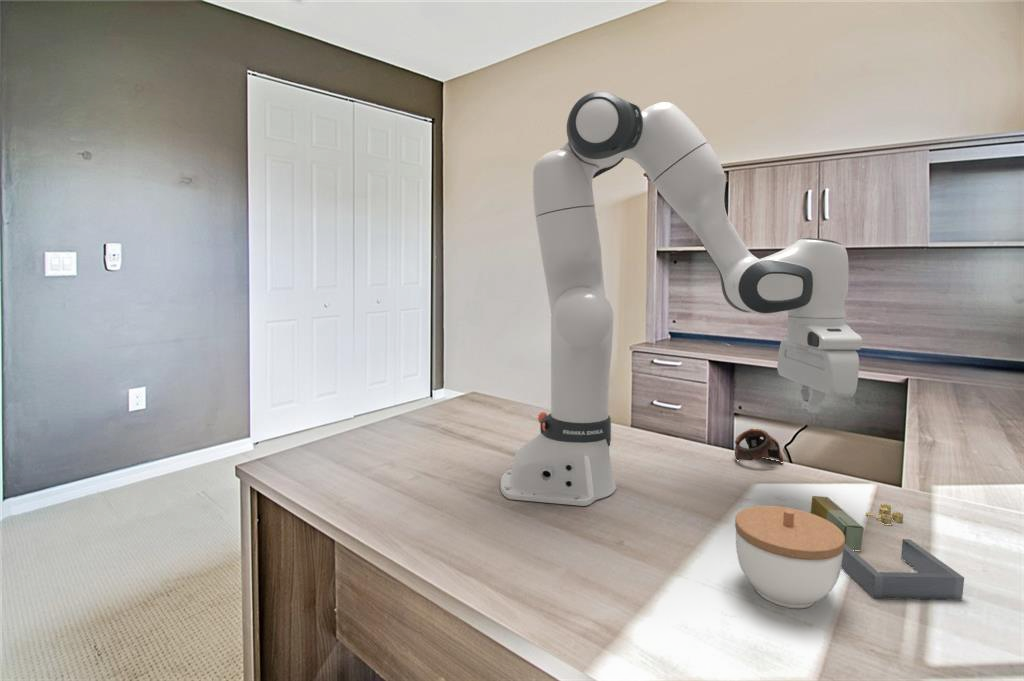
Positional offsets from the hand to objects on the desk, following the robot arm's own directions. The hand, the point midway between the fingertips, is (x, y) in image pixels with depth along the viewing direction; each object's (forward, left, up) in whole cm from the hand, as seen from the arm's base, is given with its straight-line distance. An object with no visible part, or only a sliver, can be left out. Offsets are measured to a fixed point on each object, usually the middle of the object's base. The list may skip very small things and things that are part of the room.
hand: (810, 411), depth 96 cm
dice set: (+11, -6, -18) cm, 22 cm away
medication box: (-1, -11, -18) cm, 21 cm away
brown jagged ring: (+1, +23, -17) cm, 29 cm away
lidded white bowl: (-16, -28, -17) cm, 37 cm away
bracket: (0, -24, -17) cm, 29 cm away
